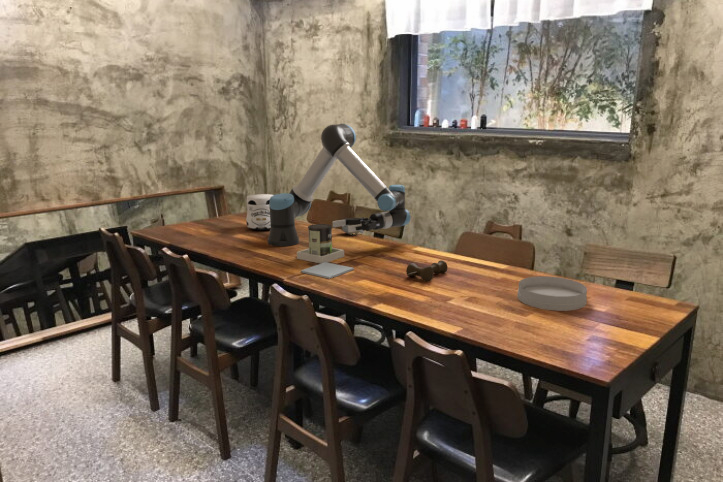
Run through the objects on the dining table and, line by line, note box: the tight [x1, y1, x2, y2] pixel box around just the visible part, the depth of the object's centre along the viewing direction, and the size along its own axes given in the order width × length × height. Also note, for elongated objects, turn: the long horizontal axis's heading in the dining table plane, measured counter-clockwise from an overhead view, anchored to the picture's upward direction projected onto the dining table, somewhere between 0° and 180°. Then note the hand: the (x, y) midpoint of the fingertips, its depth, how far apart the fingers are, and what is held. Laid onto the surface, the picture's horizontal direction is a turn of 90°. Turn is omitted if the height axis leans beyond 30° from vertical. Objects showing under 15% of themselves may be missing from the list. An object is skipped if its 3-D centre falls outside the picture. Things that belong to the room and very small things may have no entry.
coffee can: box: [307, 223, 333, 256], centre depth 237 cm, size 10×10×14 cm
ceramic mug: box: [341, 225, 365, 236], centre depth 284 cm, size 11×8×8 cm
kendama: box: [405, 259, 448, 283], centre depth 209 cm, size 6×10×20 cm
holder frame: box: [296, 247, 345, 264], centre depth 238 cm, size 15×15×3 cm
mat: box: [300, 262, 355, 280], centre depth 218 cm, size 15×15×1 cm
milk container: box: [245, 193, 274, 231], centre depth 297 cm, size 17×17×18 cm
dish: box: [517, 275, 588, 312], centre depth 184 cm, size 22×22×5 cm
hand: (340, 226), depth 241 cm, fingers open, 13 cm apart
